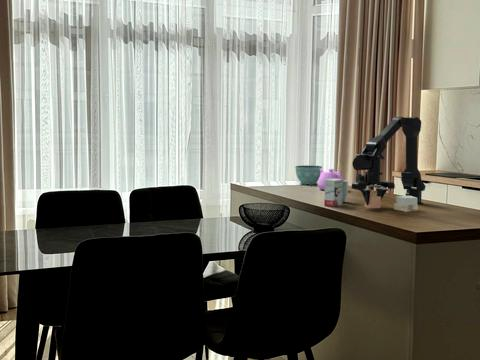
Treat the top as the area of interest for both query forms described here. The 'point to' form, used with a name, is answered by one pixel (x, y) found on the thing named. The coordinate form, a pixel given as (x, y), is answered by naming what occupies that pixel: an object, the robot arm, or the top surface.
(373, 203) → the cube
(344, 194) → the cup
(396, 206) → the tower base
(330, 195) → the ink box
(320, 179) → the teapot
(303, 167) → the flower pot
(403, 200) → the tower top
